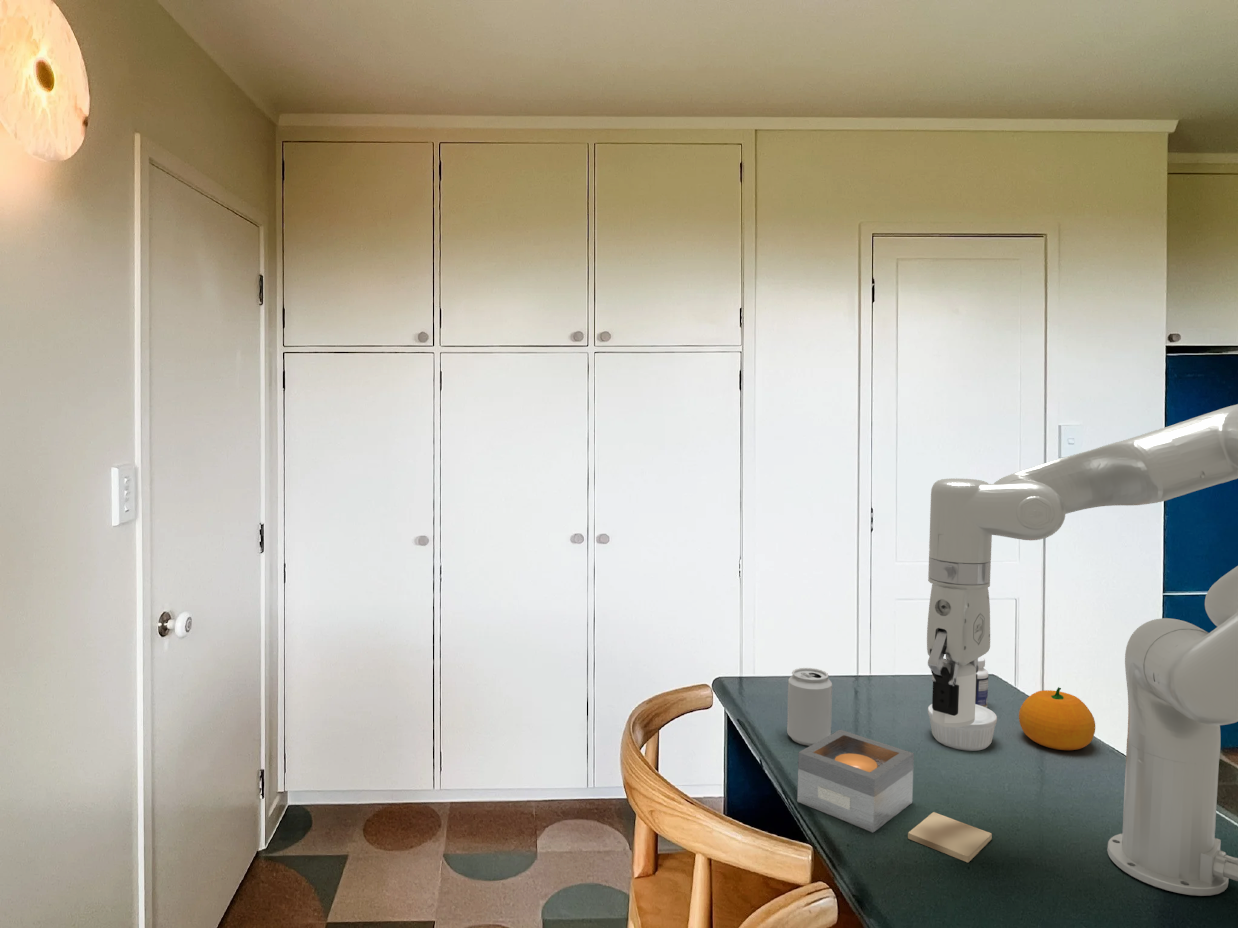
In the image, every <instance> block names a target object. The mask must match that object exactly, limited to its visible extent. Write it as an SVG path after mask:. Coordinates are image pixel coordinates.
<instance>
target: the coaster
mask: <svg viewBox="0 0 1238 928" xmlns="http://www.w3.org/2000/svg"><path fill="white" fill-rule="evenodd" d="M992 835H993V834H992V832H989V831H987V830H984V829H980V828H978V827H976V826H972V825H970V824H967V823H965V822H962V821H960V820H957V819H954V818H952V817H948V816H946V815H942V814H940V813H937V812H935V811H933V812H932V813H930V814H929V815H927V817H925V818H924V819H923V820H922V821H921V822H919V823H918V824H916V826H914V827H913V828H912V829H911V830H909V831H908V832H907V840H911V841H913V842H915V843H918V844H921V845H923V846H925V847H928V848H931V849H933V850H935V851H938V852H941V853H943V854H946V855H948V856H950V857H953V858H954V859H957V860H960V861H963V862H966V863H970V861H972V860H973V858H975V857H976V856H977V855H978V854H979V853H980V852H981V850H982V849H984V847H986V846H987V845H988V843H989V842H991V840H992V839H993V838H992Z"/></svg>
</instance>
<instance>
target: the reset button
mask: <svg viewBox="0 0 1238 928" xmlns="http://www.w3.org/2000/svg"><path fill="white" fill-rule="evenodd" d="M835 760H836V761H839V762H842V763H844V764H847V765H850V766H853V767H856V768H859V769H861V770H864V771H867V772H871V771H873V770H874V769H876V768H877V763H876V762H875V761H874V760H873V759H871V758H869V757H867V756H864V755H860V754H851V753H848V754H841V755H838V756H837V757H836V758H835Z"/></svg>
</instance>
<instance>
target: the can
mask: <svg viewBox="0 0 1238 928" xmlns="http://www.w3.org/2000/svg"><path fill="white" fill-rule="evenodd" d="M791 674H792V675H791V676H790V677H789V678H788V680H787V681H788V682H787V683H788V685H787V723H786V724H787V727H786V728H787V729H786V730H787V731H786V732H787V735H788V736H789V738H791V739H792V741H794V742H795V743H796V744H800V745H803V746H807V747H809V746H811V745H813V744H815V743H816V742H818V741H820V740H822V739H824V738H826V737H827V736H829V735H831V734H832V709H833V708H832V705H833V704H832V703H833V683H832V681H831V680H830V679H829V677H830V676H829V674H828V673H827V672H826V671H824V670H822V669H819V668H813V667H799V668H796V669H793V670H792V672H791Z"/></svg>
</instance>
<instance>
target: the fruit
mask: <svg viewBox="0 0 1238 928" xmlns="http://www.w3.org/2000/svg"><path fill="white" fill-rule="evenodd" d="M1061 689H1062V688H1061V687H1060V686H1058V687H1057V689H1056V690H1053V689H1049V690H1048V689H1047V690H1046V689H1045V690H1038V691H1036V692H1034V693H1032V694H1031V695H1029V696H1028V697H1026V699H1025V700H1024V701H1023V702H1022V704H1021V706H1020V708H1019V711H1018V721H1019V725H1020V727H1021V730H1022V731H1023V733H1024V735H1025V736H1026V737H1028V738H1029V739H1030V740H1031V741H1032V742H1035V743H1036V744H1039V745H1041V746H1043V747H1046V748H1049V749H1053V750H1060V751H1074V750H1075V751H1076V750H1081V749H1083V748H1085V747H1087V746H1088V745H1090V744H1091V742H1092V741H1093V738H1094V736H1095V733H1096V721H1095V717H1094V716H1093V714H1092V711H1091V710H1090V709H1089V708H1088V706H1087V705H1086V704H1085V702H1084V701H1082V700H1081V699H1080V698H1079V697H1077V696H1075V695H1073V694H1071V693H1066V692H1063V691H1061Z"/></svg>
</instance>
